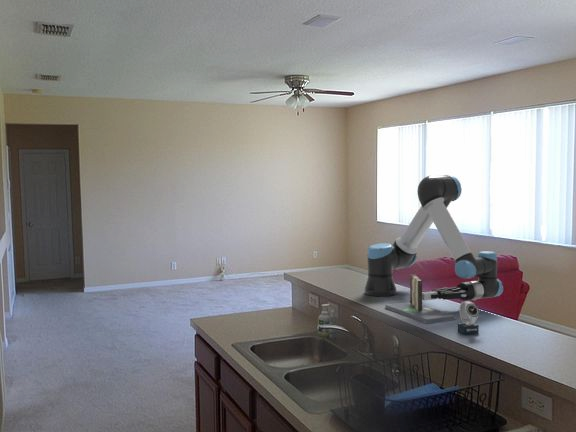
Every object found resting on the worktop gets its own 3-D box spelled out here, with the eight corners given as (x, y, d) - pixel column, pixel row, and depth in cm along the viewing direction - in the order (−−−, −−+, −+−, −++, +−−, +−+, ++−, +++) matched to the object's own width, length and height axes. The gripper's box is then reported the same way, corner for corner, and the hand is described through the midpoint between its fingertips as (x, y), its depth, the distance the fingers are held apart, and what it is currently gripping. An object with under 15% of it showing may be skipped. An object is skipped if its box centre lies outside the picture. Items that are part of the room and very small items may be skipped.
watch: (467, 336, 185) (467, 305, 185) (454, 330, 193) (454, 300, 192) (482, 335, 187) (482, 303, 186) (469, 329, 194) (469, 299, 194)
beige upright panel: (409, 302, 230) (409, 274, 229) (415, 302, 230) (415, 274, 229) (417, 311, 215) (416, 281, 214) (423, 311, 215) (423, 281, 214)
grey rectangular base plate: (385, 308, 229) (385, 304, 229) (411, 304, 234) (411, 301, 234) (426, 323, 203) (426, 319, 203) (454, 319, 209) (454, 315, 208)
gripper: (481, 302, 219) (433, 309, 210) (458, 296, 232) (412, 302, 223) (481, 284, 219) (433, 290, 210) (458, 279, 231) (412, 284, 222)
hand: (422, 296), depth 216 cm, fingers closed
